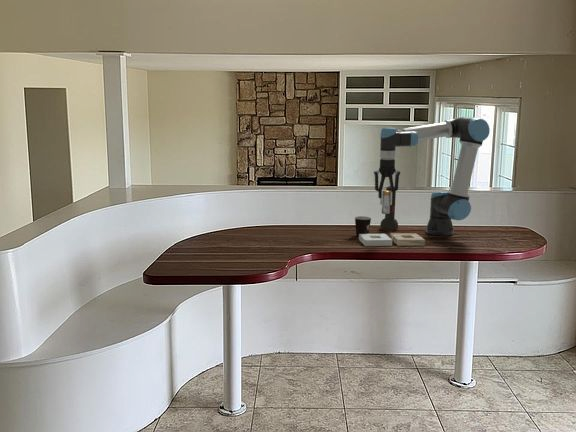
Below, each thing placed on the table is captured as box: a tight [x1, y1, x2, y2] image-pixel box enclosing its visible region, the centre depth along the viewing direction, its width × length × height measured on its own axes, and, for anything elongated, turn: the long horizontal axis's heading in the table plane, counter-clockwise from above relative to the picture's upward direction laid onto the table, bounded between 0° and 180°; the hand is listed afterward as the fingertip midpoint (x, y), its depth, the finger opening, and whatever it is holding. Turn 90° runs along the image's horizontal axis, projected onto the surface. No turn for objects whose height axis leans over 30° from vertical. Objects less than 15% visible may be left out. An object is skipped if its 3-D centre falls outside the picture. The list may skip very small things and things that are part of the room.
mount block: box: [358, 233, 393, 247], centre depth 328 cm, size 14×14×3 cm
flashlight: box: [379, 185, 399, 232], centre depth 358 cm, size 10×25×10 cm
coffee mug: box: [354, 215, 372, 238], centre depth 341 cm, size 12×9×10 cm
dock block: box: [389, 232, 426, 247], centre depth 330 cm, size 14×14×3 cm
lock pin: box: [381, 190, 390, 215], centre depth 325 cm, size 4×4×12 cm
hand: (385, 204), depth 325 cm, fingers closed on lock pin, 4 cm apart
